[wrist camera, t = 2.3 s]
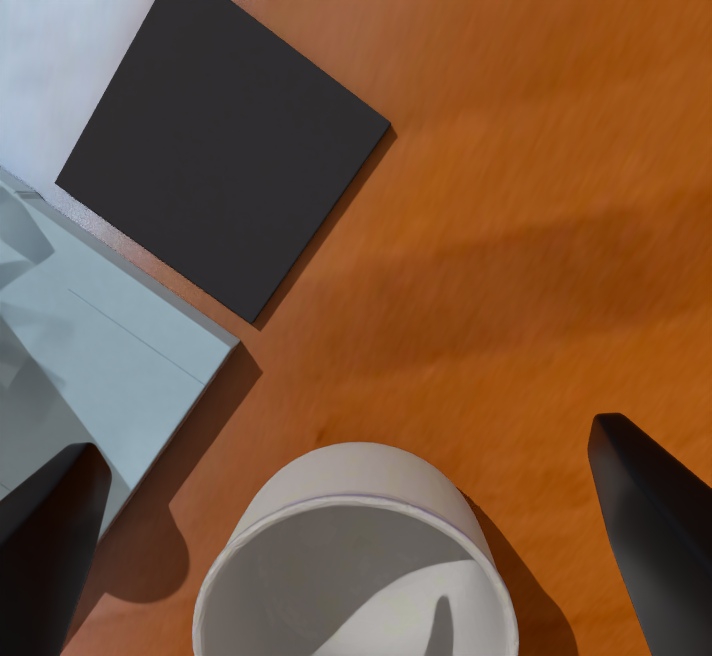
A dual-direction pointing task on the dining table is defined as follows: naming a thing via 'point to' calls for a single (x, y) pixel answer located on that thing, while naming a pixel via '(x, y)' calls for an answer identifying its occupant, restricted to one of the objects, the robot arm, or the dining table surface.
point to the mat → (220, 149)
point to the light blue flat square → (91, 350)
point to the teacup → (356, 566)
